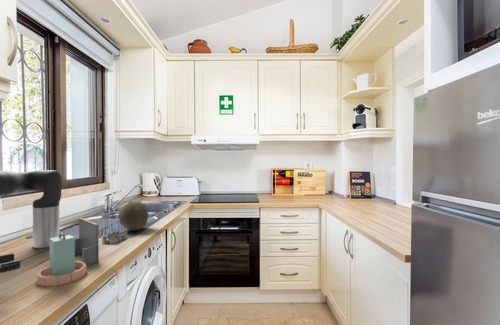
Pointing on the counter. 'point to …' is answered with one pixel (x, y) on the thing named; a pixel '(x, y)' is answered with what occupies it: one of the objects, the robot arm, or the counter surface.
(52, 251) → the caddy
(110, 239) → the miniature stone ruin
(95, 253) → the screen
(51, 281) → the dish
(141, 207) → the cantaloupe
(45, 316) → the counter surface
